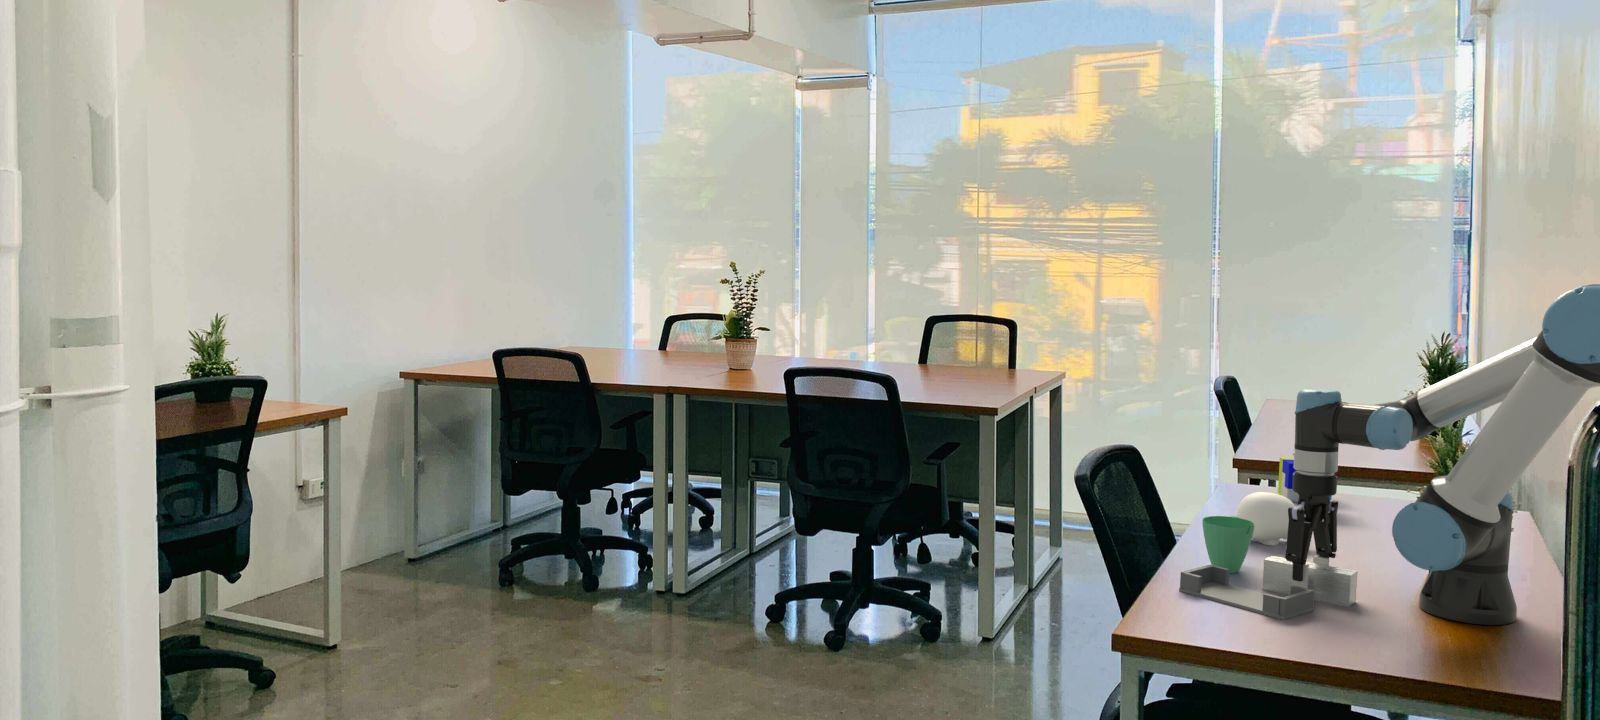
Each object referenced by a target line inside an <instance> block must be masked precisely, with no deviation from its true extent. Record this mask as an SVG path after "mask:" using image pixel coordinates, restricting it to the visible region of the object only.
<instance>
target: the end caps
mask: <svg viewBox="0 0 1600 720" xmlns="http://www.w3.org/2000/svg"><path fill="white" fill-rule="evenodd" d="M1179 576H1180V578H1179V581H1180V582H1179V588H1178V591H1179V592H1181V593H1185V594H1188V595H1193V596H1195V597H1199V598H1202V599H1207V600H1211V601H1213V602H1217V603H1221V604H1224V605H1228V606H1232V607H1236V608H1239V609H1243V610H1246V611H1249V612H1252V613H1257V614H1261V615H1263V616H1264V615H1265V616H1267V617H1270V618H1275V619H1277V620H1278V619H1279V620H1282V621H1284V620H1288V619H1292V618H1295V617H1297V616H1300V615H1304V614H1306V613H1310V612H1312V611H1314V610H1315V607H1314V601H1315V600H1314V591H1313V590H1310V589H1307V588H1303V587H1299V586H1295V585H1293V586H1291V593H1290V595H1286V596H1283V597H1282V596H1279V595H1274V594H1270V593H1267V592H1266V593H1262V592H1259V591H1255V590H1251V589H1247V588H1243V587H1240V586H1236V585H1232V584H1230V582H1229V581H1230V573H1229V569H1227V568H1223V567H1219V566H1214V565H1211V564H1206V565H1204V566H1199V567H1195V568H1192V569H1187V570H1183V571H1180V575H1179Z"/></svg>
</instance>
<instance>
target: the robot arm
mask: <svg viewBox="0 0 1600 720" xmlns="http://www.w3.org/2000/svg"><path fill="white" fill-rule="evenodd" d="M1597 387H1600V284H1598V283H1596V284H1595V283H1593V284H1592V283H1591V284H1587V285H1586V284H1585V285H1582V286H1581V285H1580V286H1578V287H1575V288H1573V289H1571V290H1568V291H1566V292H1564V293H1562V294H1560V295H1559V296H1558V297H1557V298H1555V299H1554V300H1553V301H1552V303H1550V304H1549V306H1548V308H1547V309H1546V311H1545V313H1544V316H1543V318H1542V324H1541V331H1540V332H1539V334H1538V335H1537V336H1536V337H1534V338H1531V339H1529V340H1527V341H1524V342H1522V343H1521V344H1517V345H1516V346H1513V347H1512V348H1509V349H1507V350H1505V351H1503V352H1500V353H1498V354H1497V355H1494V356H1492V357H1490V358H1487V359H1485V360H1483V361H1481V362H1479V363H1477V364H1475V365H1473V366H1471V367H1468V368H1466V369H1464V370H1461V371H1460V372H1457V373H1456V374H1455V373H1454V374H1453V375H1450V376H1448V377H1447V378H1444V379H1442V380H1440V381H1438V382H1436V383H1434V384H1431V385H1429V386H1427V387H1425V388H1423V389H1420V390H1419V391H1417V392H1414V393H1411V394H1409V395H1408V396H1405V397H1403V398H1401V399H1399V400H1397V401H1390V402H1385V403H1384V402H1383V403H1375V404H1365V403H1363V404H1362V403H1349V402H1345V401H1342V394H1341V392H1340V391H1339V390H1337V389H1329V388H1303V389H1301V390H1300V391H1298V392H1297V396H1296V403H1295V411H1294V414H1295V422H1294V425H1295V426H1294V427H1295V428H1294V451H1293V453H1292V455H1293V458H1294V469H1295V470H1297V471H1295V472H1294V473H1293V485H1292V489H1293V491H1294V492H1296V493H1298V494H1299V499H1298V502H1296V503H1297V505H1295V508H1294V507H1289V508H1288V516H1289V523H1288V534H1287V540H1286V547H1285V555H1284V558H1286V560H1287V561H1290V562H1292V563H1293V570H1292V586H1293V585H1295V586H1299V587H1303V588H1307V589H1308V573H1309V564H1306V562H1307V559H1308V556H1309V550H1310V546H1311V541H1312V538H1313V539H1314V544H1315V545H1314V546H1315V547H1314V548H1315V553H1316V555H1313V561H1312V563H1315V564H1320V565H1326V566H1330V558H1331V559H1335V558H1336V555H1337V554H1336V553H1337V551H1338V550H1337V549H1338V518H1337V517H1338V508H1339V501H1336V500H1332V499H1331V500H1330V498H1329V496H1335V495H1336V494H1337V490H1338V476H1337V475H1336V474H1335V473H1337V472H1338V470H1339V447H1340V444H1342V445H1351V446H1358V447H1366V448H1373V449H1377V450H1380V451H1381V450H1382V451H1384V450H1391V451H1393V450H1394V451H1400V450H1404V449H1405V448H1406V447H1407V445H1408V444H1409V443H1410V442H1415V441H1418V440H1421V439H1424V438H1426V437H1428V436H1429V435H1430V434H1432V433H1433V432H1435V431H1437V430H1439V429H1441V428H1443V427H1446V426H1448V425H1450V424H1453V423H1455V422H1457V421H1460V420H1462V419H1464V418H1468V417H1469V416H1471V415H1474V414H1476V413H1478V412H1480V411H1484V410H1485V409H1488V408H1490V407H1492V406H1494V405H1498V404H1499V403H1500V405H1499V406H1498V407H1497V408H1496V410H1495V411H1494V412H1493V414H1492V415H1491V416H1490V418H1489V419H1488V420H1487V422H1486V423H1485V425H1484V426H1483V427H1482V429H1480V431H1479V432H1478V434H1477V435H1476V437H1475V438H1474V439H1473V440H1472V441H1471V444H1469V445H1468V447H1467V449H1466V450H1465V451H1464V452H1463V454H1462V455H1461V457H1460V458H1459V459H1458V461H1457V462H1456V463H1455V465H1453V468H1452V469H1451V470H1450V471H1449V473H1448V474H1447V475H1440V476H1434V477H1433V478H1432V479H1431V480H1430V482H1429V483H1428V484H1427V485H1426V487H1425V488H1424V490H1423V491H1422V492H1421V494H1420V495H1419V497H1418V498H1417V499H1416V500H1415V502H1411V503H1409V504H1407V505H1405V506H1404V507H1402V508H1401V509H1400V510H1399V511H1398V513H1397V514H1396V515H1395V517H1394V519H1393V522H1392V526H1391V527H1392V528H1391V531H1392V532H1391V534H1392V537H1393V541H1394V545H1395V547H1396V549H1397V550H1398V552H1399V553H1400V555H1401V556H1402V557H1403V558H1404V559H1405V560H1406V561H1407V562H1409V563H1410V564H1411V565H1413V566H1415V567H1417V568H1419V569H1421V570H1425V571H1429V573H1428V575H1427V578H1426V580H1425V582H1424V584H1423V586H1422V588H1421V590H1420V593H1419V602H1418V606H1419V608H1420V609H1421V610H1422V611H1424V612H1426V613H1427V614H1430V615H1433V616H1436V617H1439V618H1443V619H1447V620H1450V621H1454V622H1455V621H1456V622H1459V623H1460V622H1461V623H1465V624H1466V623H1467V624H1472V625H1473V624H1474V625H1486V626H1500V625H1502V626H1503V625H1508V624H1509V625H1510V624H1513V623H1515V622H1516V621H1517V612H1518V607H1517V603H1516V599H1515V596H1514V593H1513V588H1512V586H1511V583H1510V579H1509V578H1510V577H1509V562H1510V550H1511V549H1510V548H1511V540H1512V539H1511V537H1512V527H1513V515H1514V512H1515V509H1514V502H1513V499H1514V498H1513V495H1512V494H1511V493H1510V492H1509V491H1510V490H1511V489H1512V488H1513V486H1514V485H1515V484H1516V483H1517V482H1518V480H1519V479H1520V478H1521V476H1522V475H1523V473H1524V472H1525V471H1526V469H1528V467H1529V466H1530V465H1531V464H1532V462H1533V461H1534V459H1535V458H1536V457H1537V456H1538V454H1539V453H1540V452H1541V451H1542V449H1543V448H1544V446H1545V445H1546V444H1547V442H1548V441H1550V439H1551V438H1552V436H1553V435H1554V434H1555V433H1556V431H1557V430H1558V428H1559V427H1560V426H1561V425H1562V424H1563V422H1564V421H1565V420H1566V419H1567V417H1568V416H1569V415H1570V414H1571V412H1572V410H1574V408H1575V407H1576V406H1577V405H1578V403H1579V402H1580V400H1581V399H1582V398H1583V397H1584V395H1585V394H1586V393H1587V391H1588V390H1589V389H1592V388H1597ZM1305 522H1307V523H1305Z"/></svg>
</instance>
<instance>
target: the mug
mask: <svg viewBox="0 0 1600 720" xmlns="http://www.w3.org/2000/svg"><path fill="white" fill-rule="evenodd" d="M1202 529H1203V530H1202V531H1203V537H1204V542H1205V547H1206V551H1207V555H1208V559H1209V562H1210V565H1214V566H1219V567H1223V568H1227V569H1229V574H1230V573H1232V574H1238V573H1239V572H1240V570H1241V568H1242V566H1243V564H1244V561H1245V559H1246V556H1247V554H1248V552H1249V549H1250V545H1251V541H1252V540H1253V539H1252V535H1253V531H1254V523H1253V522H1251V521H1249V520H1246V519H1242V518H1239V517H1237V515H1231V516H1226V515H1225V516H1224V515H1223V516H1222V515H1211V516H1205V517H1203V518H1202ZM1237 572H1238V573H1237Z"/></svg>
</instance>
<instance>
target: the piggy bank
mask: <svg viewBox="0 0 1600 720" xmlns="http://www.w3.org/2000/svg"><path fill="white" fill-rule="evenodd" d="M1289 507H1294V508H1295V507H1296V505H1295V504H1294V503H1293V501H1290V500H1289V499H1288V498H1286V497H1284V496H1281V495H1279V494H1278V493H1274V492H1268V491H1258V492H1252V493H1250V494H1248V495H1246V496H1245V497H1244V498H1243V499H1242V500H1241V501H1240V502H1239V504H1238V507H1237V512H1236V516H1237V517H1239V518H1242V519H1246V520H1249V521H1251V522H1253V523H1254V531H1253V535H1252V539H1251V540H1254V541H1256V542H1258V543H1261V544H1263V545H1267V546H1276V545H1278V544H1280V542H1281V541H1280V540H1281V539H1283V540H1286V541H1287V534H1288V523H1289V516H1288V508H1289ZM1305 523H1307V522H1305Z"/></svg>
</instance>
